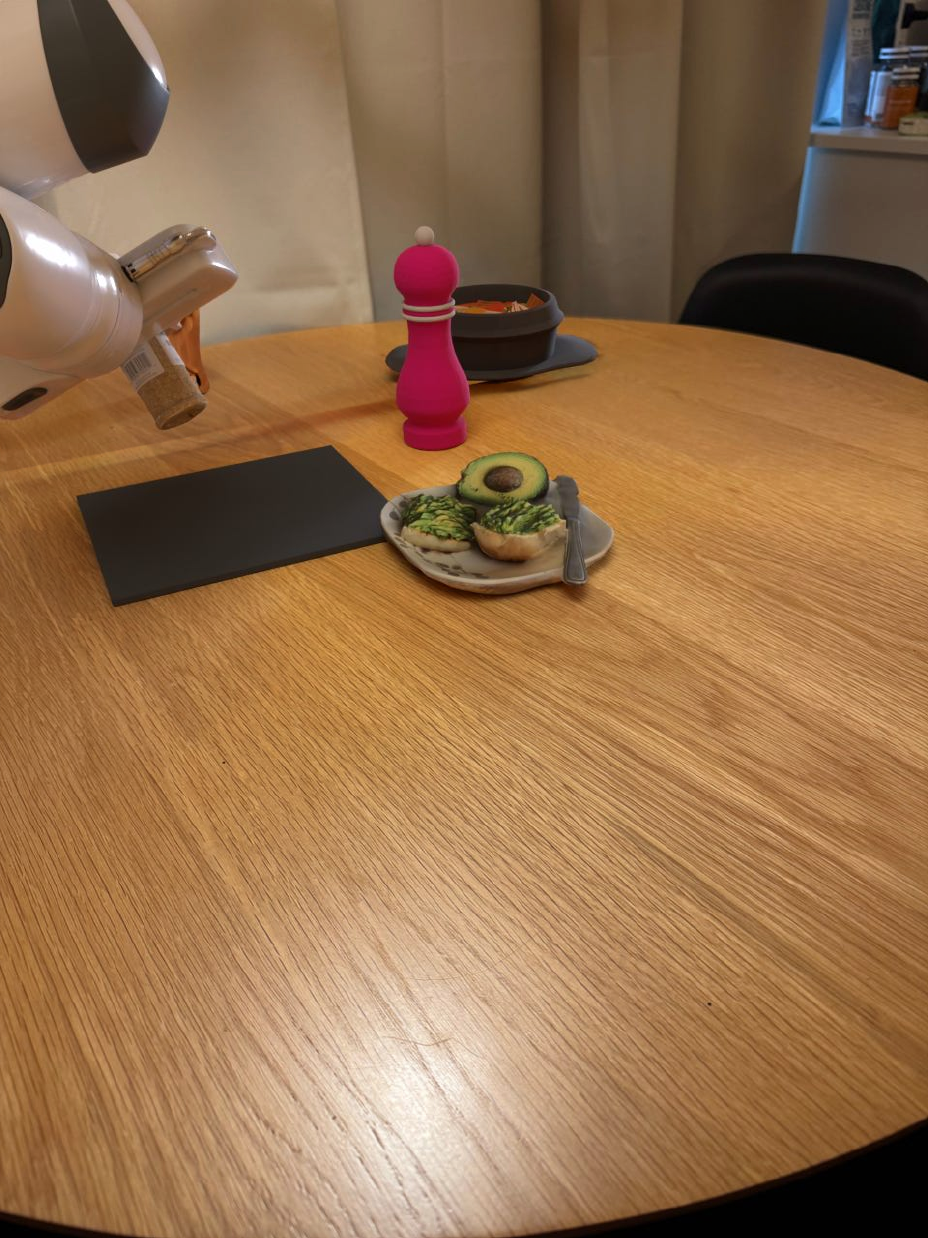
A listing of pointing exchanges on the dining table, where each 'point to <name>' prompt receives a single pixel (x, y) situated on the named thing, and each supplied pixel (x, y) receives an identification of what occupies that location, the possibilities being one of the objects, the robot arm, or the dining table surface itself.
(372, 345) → the dining table surface
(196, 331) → the beer glass
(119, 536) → the slate mat
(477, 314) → the casserole
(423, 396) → the pepper mill
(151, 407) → the spice jar
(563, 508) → the avocado toast plate
